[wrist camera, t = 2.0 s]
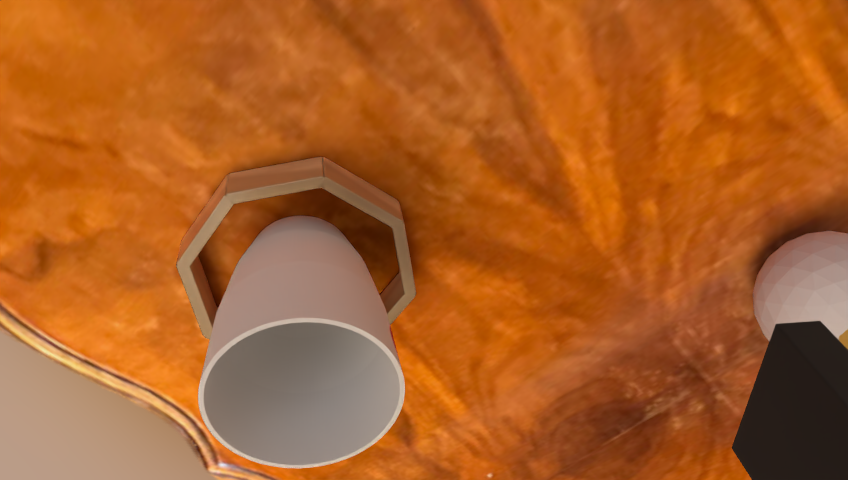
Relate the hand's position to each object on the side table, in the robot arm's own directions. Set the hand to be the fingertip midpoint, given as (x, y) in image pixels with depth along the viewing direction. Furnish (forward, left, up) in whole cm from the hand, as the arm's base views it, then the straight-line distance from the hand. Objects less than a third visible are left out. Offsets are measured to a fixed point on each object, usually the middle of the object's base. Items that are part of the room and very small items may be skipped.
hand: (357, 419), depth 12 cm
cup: (+7, -12, -25) cm, 28 cm away
